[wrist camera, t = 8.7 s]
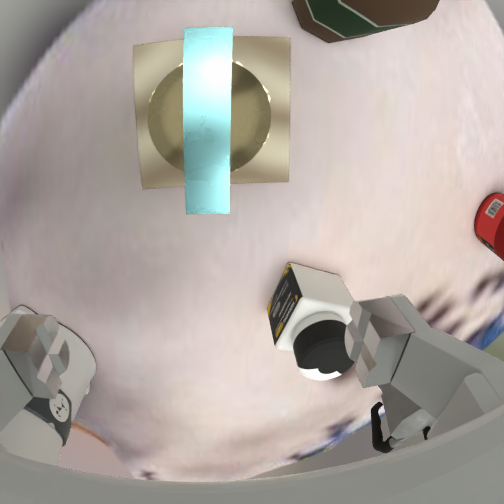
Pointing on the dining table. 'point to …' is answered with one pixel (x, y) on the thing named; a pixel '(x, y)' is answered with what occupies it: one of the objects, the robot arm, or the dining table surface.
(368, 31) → the beer bottle
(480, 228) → the canned food
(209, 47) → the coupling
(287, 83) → the square recessed plate
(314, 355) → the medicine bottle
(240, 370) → the dining table surface
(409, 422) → the coffeepot
